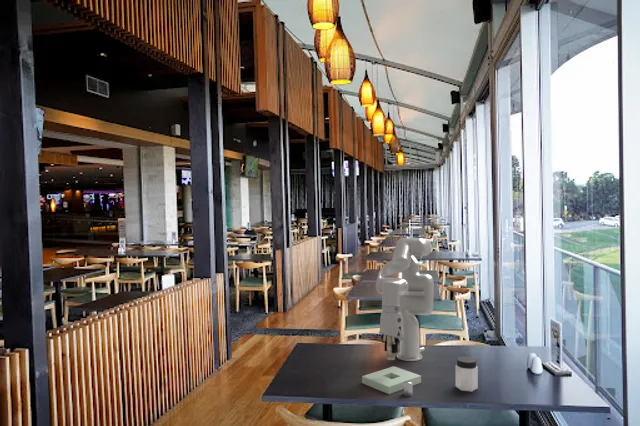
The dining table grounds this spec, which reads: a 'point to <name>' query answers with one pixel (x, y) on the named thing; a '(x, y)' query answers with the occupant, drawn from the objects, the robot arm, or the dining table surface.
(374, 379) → the hole board
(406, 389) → the steel pin
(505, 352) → the dining table surface
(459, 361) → the jar
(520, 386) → the dining table surface
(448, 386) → the dining table surface
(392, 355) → the birch pin
